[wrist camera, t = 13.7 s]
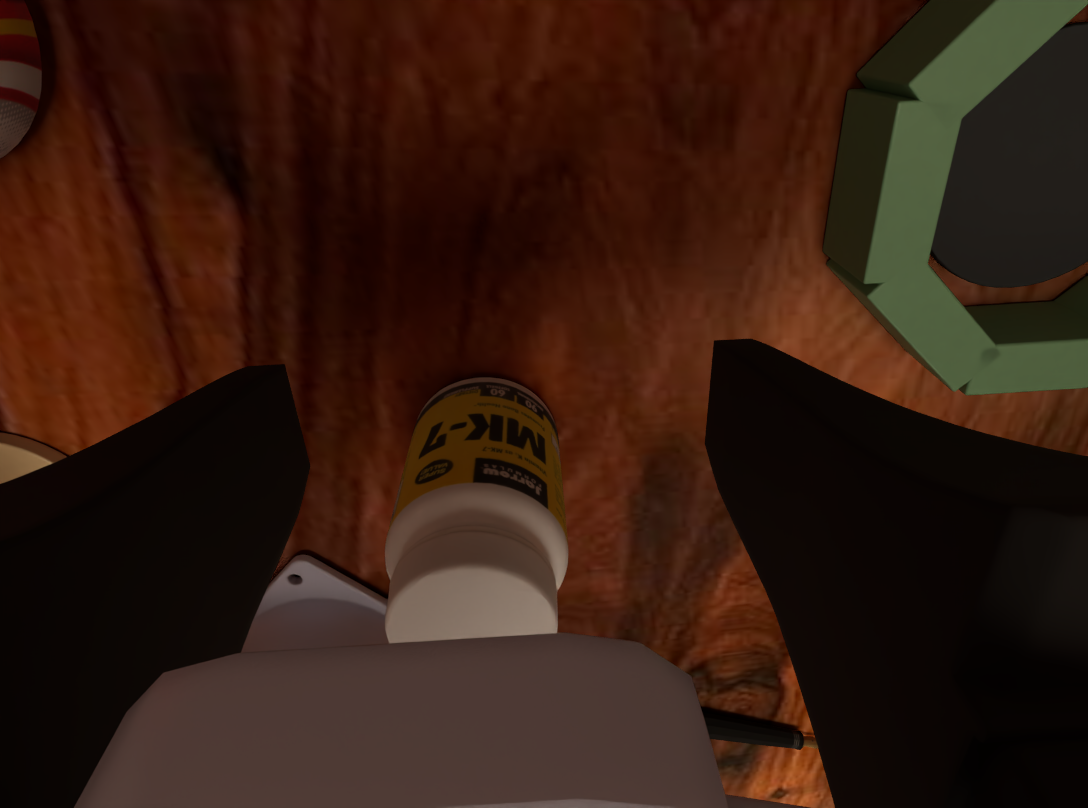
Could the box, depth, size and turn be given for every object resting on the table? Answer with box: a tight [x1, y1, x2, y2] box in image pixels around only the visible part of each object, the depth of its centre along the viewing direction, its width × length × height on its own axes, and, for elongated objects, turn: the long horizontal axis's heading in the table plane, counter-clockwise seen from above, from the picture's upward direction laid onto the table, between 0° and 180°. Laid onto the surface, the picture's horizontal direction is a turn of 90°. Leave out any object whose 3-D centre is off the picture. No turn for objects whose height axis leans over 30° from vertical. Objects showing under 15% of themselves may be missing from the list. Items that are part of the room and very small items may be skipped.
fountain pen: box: [702, 712, 818, 750], centre depth 30 cm, size 14×1×2 cm
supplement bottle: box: [385, 377, 568, 643], centre depth 19 cm, size 5×5×8 cm
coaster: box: [930, 22, 1088, 287], centre depth 19 cm, size 7×7×1 cm
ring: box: [823, 0, 1088, 395], centre depth 18 cm, size 12×12×3 cm
